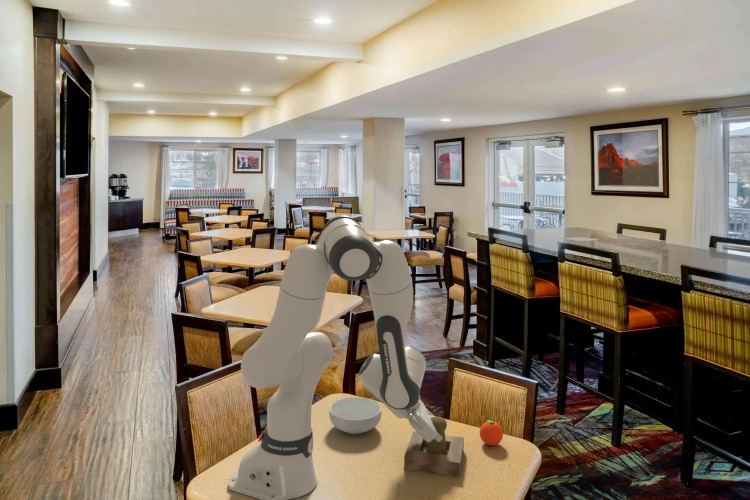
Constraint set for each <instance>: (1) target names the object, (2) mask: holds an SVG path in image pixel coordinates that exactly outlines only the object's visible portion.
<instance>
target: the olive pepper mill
mask: <svg viewBox="0 0 750 500" xmlns="http://www.w3.org/2000/svg"><path fill="white" fill-rule="evenodd" d="M430 418H431V420H432V422H433V425H434V427H435V429H436V431H437V432H439V433H440V434H441V435H442V437H443V439H442V440H441V441H440V442H437V441H436V440H435V439H433V440H432V441H431V442H430V443H428V444H427V450H426V452H429V453H437V454H445V455H447V450H446V440H445V435H446V434H445V433H446V432H445V431H446V430H447V427H448V425H447V423H448V422H447V420H446V419H445V418H443V417H441V416H432V417H430Z"/></svg>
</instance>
